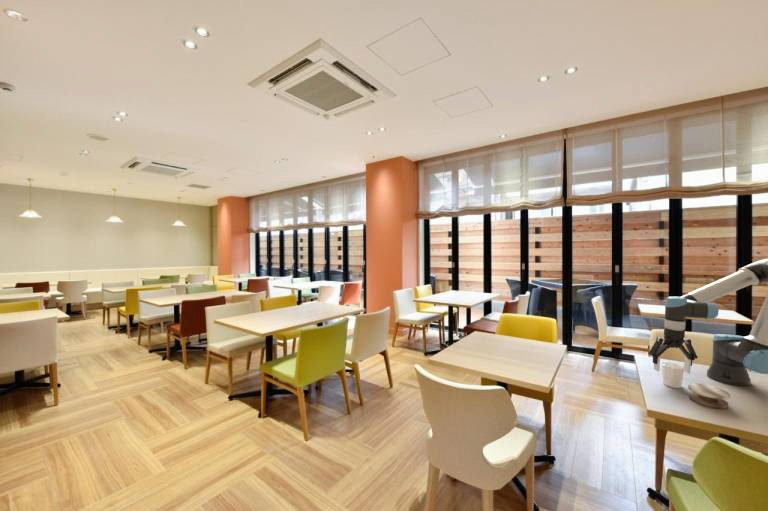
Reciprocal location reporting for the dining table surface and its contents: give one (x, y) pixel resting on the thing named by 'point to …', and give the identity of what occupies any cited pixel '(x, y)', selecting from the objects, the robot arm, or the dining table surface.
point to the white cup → (672, 374)
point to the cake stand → (708, 396)
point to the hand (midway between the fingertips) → (671, 371)
